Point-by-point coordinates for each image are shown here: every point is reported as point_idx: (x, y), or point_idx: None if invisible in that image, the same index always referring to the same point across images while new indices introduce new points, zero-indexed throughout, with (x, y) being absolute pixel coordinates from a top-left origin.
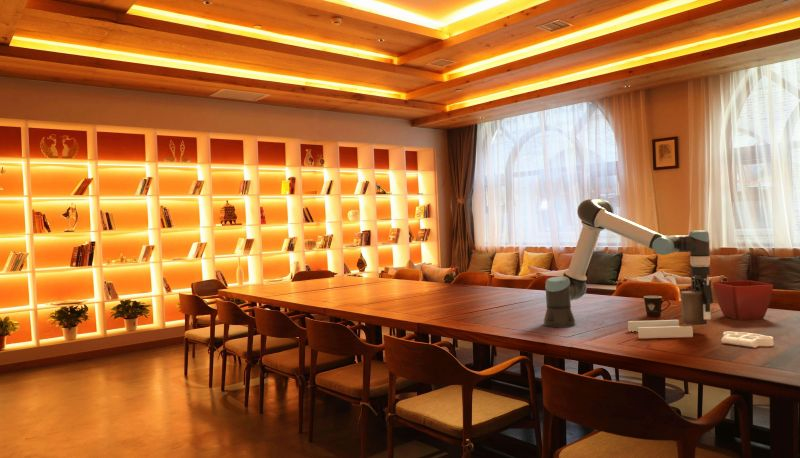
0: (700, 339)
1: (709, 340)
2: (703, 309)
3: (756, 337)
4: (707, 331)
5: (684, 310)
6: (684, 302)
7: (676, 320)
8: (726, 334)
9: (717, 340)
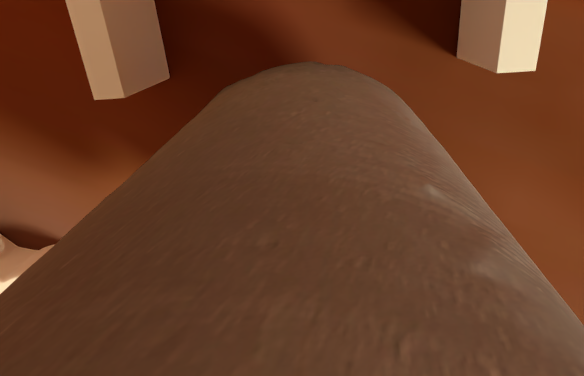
0: (54, 104)
1: (32, 155)
2: None
3: None
4: None
5: (214, 114)
6: (132, 188)
7: (500, 37)
8: (6, 277)
9: (44, 204)
